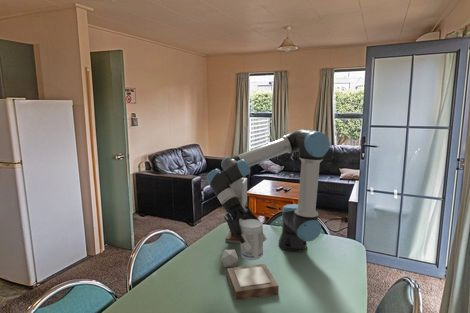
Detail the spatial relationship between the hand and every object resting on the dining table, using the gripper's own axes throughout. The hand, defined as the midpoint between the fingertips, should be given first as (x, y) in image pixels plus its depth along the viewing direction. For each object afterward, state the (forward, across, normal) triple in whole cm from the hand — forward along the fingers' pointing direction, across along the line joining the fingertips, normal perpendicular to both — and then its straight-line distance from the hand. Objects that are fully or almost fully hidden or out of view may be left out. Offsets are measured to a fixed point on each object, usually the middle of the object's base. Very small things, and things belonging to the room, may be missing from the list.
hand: (257, 244), depth 130 cm
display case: (-14, -30, -42) cm, 53 cm away
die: (-1, -5, -29) cm, 30 cm away
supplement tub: (+2, 0, -6) cm, 7 cm away
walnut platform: (+12, 0, -16) cm, 20 cm away
